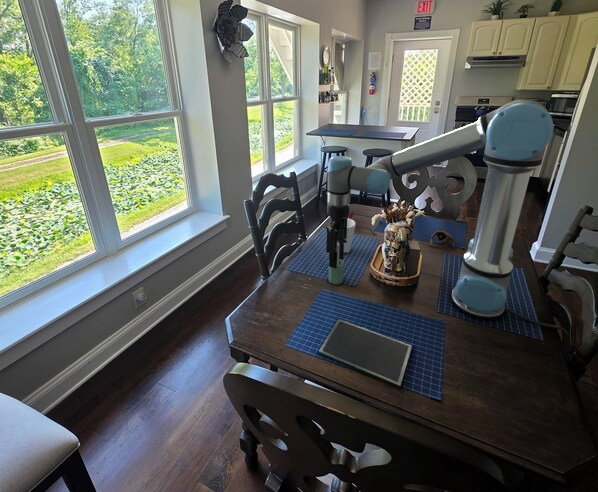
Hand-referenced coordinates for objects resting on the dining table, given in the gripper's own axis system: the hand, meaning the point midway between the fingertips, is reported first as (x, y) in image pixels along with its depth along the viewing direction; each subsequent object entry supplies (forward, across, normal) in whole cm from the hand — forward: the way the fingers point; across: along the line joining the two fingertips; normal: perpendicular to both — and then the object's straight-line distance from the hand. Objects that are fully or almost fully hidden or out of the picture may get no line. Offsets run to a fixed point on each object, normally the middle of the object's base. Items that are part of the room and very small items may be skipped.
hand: (336, 262), depth 116 cm
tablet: (+8, +26, +20) cm, 34 cm away
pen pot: (+8, 0, 0) cm, 8 cm away
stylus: (+7, 0, 0) cm, 7 cm away
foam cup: (+8, -22, -6) cm, 24 cm away
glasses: (+8, -48, -6) cm, 49 cm away
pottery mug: (+8, -45, +31) cm, 55 cm away
